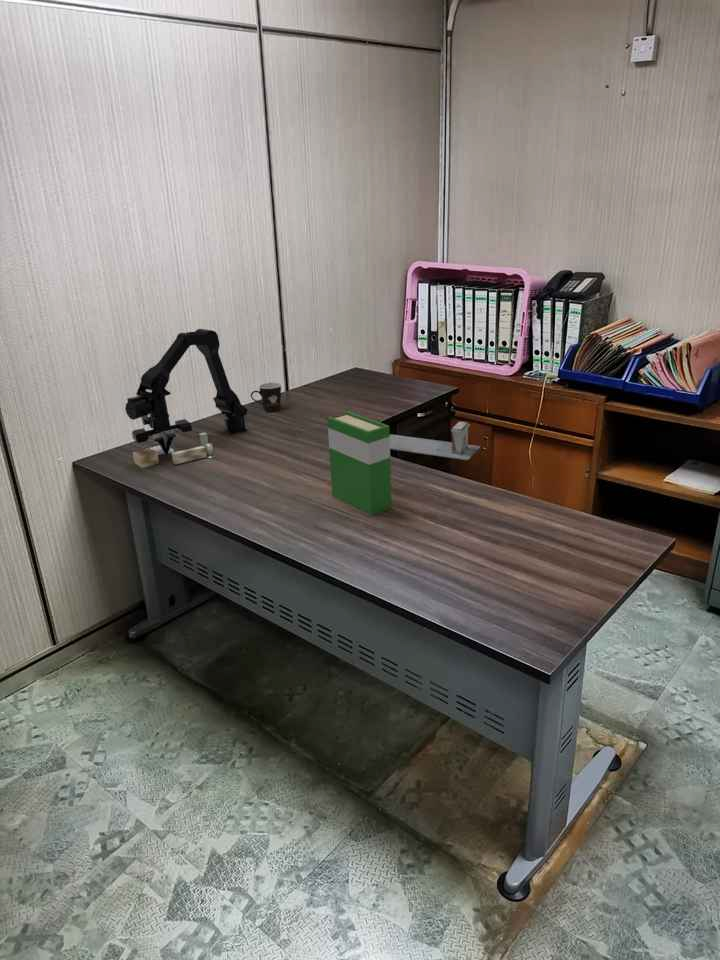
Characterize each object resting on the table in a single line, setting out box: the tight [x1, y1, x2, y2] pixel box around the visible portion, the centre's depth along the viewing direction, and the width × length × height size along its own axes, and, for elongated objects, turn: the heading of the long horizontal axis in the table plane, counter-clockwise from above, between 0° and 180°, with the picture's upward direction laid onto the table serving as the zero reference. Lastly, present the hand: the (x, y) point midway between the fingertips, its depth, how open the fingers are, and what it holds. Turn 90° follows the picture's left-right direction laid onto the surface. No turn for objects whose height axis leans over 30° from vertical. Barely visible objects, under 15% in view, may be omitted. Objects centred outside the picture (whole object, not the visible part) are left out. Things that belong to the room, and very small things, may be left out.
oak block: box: [132, 447, 160, 469], centre depth 232 cm, size 6×6×4 cm
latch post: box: [199, 432, 209, 447], centre depth 245 cm, size 2×2×4 cm
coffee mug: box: [250, 382, 282, 413], centre depth 277 cm, size 12×9×10 cm
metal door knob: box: [204, 442, 217, 459], centre depth 235 cm, size 4×4×4 cm
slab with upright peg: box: [390, 421, 481, 461], centre depth 233 cm, size 12×33×10 cm, turn 63°
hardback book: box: [326, 411, 392, 516], centre depth 194 cm, size 18×7×24 cm, turn 39°
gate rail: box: [171, 445, 207, 465], centre depth 232 cm, size 11×2×4 cm, turn 121°
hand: (166, 454), depth 236 cm, fingers closed
